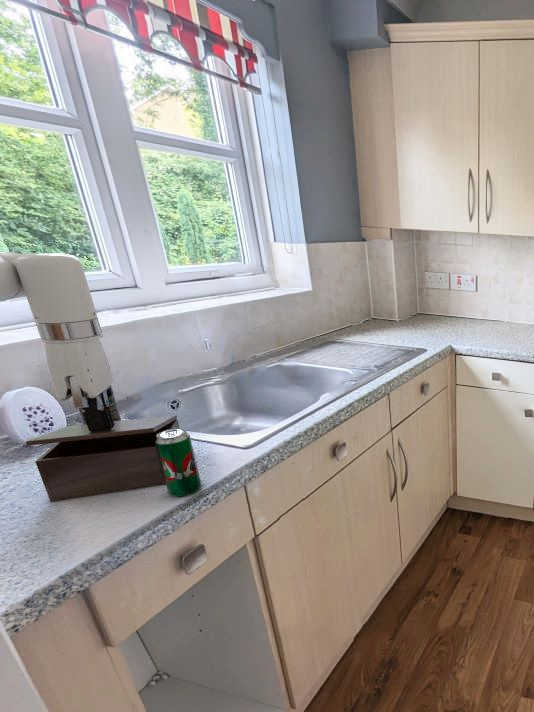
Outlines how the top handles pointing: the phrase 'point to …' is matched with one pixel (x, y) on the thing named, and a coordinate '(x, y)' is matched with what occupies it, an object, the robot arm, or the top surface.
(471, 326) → the top surface
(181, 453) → the soda can
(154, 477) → the chest
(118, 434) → the lid
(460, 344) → the top surface
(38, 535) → the top surface
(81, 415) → the supplement container
